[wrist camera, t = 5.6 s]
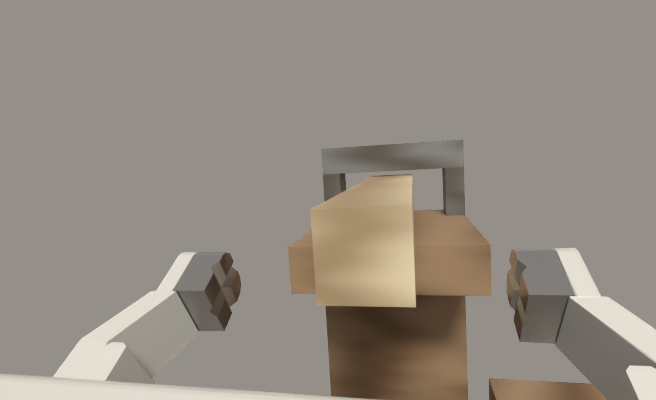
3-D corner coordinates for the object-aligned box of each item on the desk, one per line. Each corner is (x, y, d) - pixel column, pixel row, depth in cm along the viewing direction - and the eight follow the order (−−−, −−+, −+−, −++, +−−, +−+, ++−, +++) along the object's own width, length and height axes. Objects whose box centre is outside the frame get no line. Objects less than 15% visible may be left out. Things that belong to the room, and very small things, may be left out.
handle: (413, 214, 24) (412, 174, 24) (416, 307, 9) (411, 206, 9) (373, 215, 24) (371, 176, 24) (316, 305, 10) (310, 209, 10)
